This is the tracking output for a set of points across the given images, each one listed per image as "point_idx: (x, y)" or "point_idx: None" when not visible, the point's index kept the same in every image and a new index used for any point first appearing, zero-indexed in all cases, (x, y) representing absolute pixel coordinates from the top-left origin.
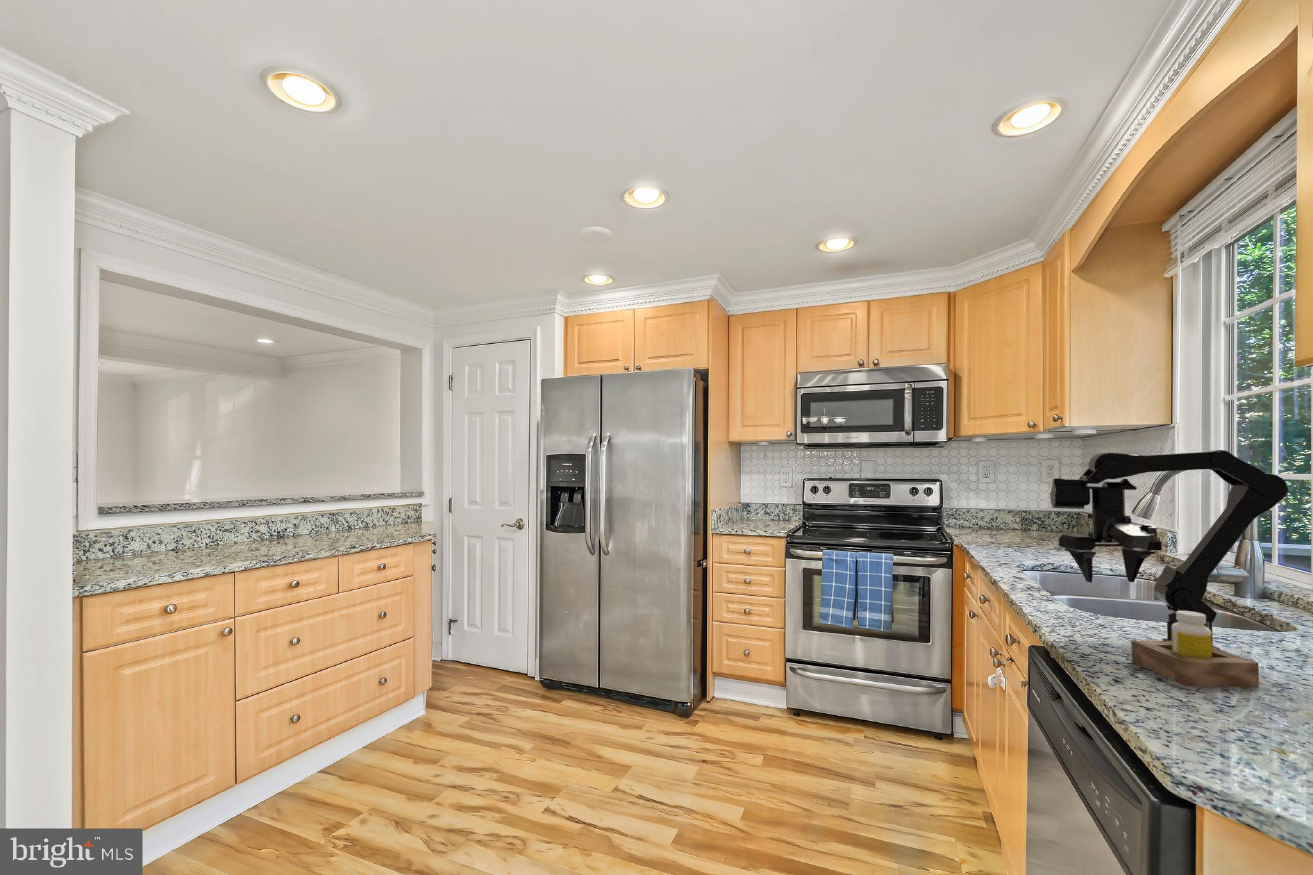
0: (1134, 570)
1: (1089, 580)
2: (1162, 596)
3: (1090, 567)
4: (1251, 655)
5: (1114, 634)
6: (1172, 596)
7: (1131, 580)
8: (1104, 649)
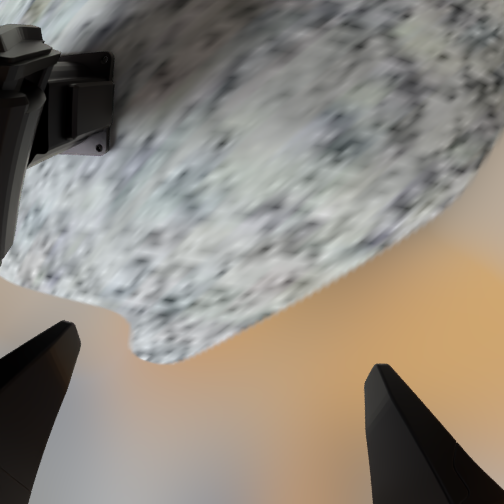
0: (20, 373)
1: (393, 373)
2: (21, 153)
3: (440, 448)
4: None
5: (199, 237)
6: (6, 88)
7: (70, 332)
8: (390, 104)
